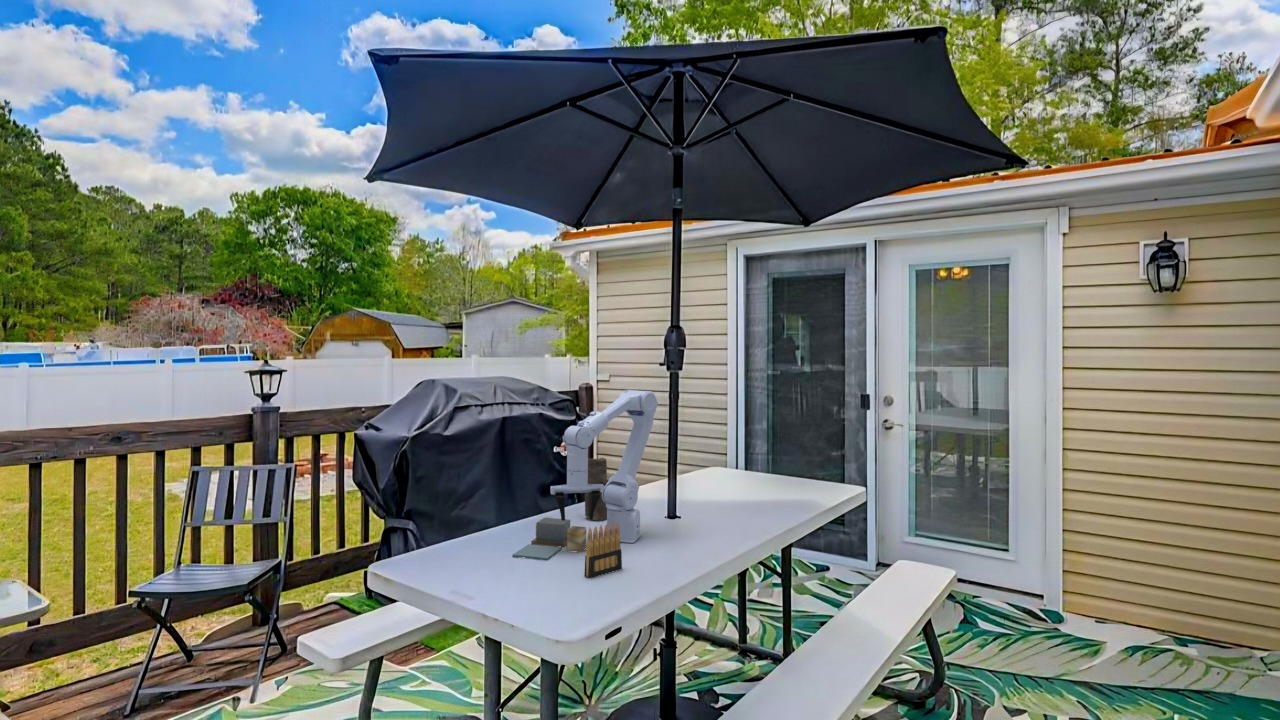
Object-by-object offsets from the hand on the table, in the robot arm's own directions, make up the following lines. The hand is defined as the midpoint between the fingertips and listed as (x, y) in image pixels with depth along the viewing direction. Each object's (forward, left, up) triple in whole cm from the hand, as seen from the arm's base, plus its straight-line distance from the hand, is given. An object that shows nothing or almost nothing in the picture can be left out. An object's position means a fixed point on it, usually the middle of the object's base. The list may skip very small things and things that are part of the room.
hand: (576, 519), depth 186 cm
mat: (+9, +6, -8) cm, 14 cm away
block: (0, 0, -9) cm, 9 cm away
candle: (+6, -34, -9) cm, 36 cm away
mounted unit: (+9, -5, -8) cm, 13 cm away
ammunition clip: (-13, +16, -9) cm, 22 cm away
